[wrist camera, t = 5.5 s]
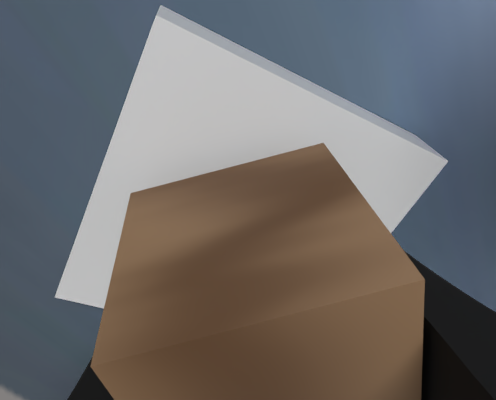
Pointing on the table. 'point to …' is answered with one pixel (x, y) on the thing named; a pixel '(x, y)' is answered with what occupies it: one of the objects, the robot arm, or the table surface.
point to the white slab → (230, 138)
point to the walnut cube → (261, 290)
